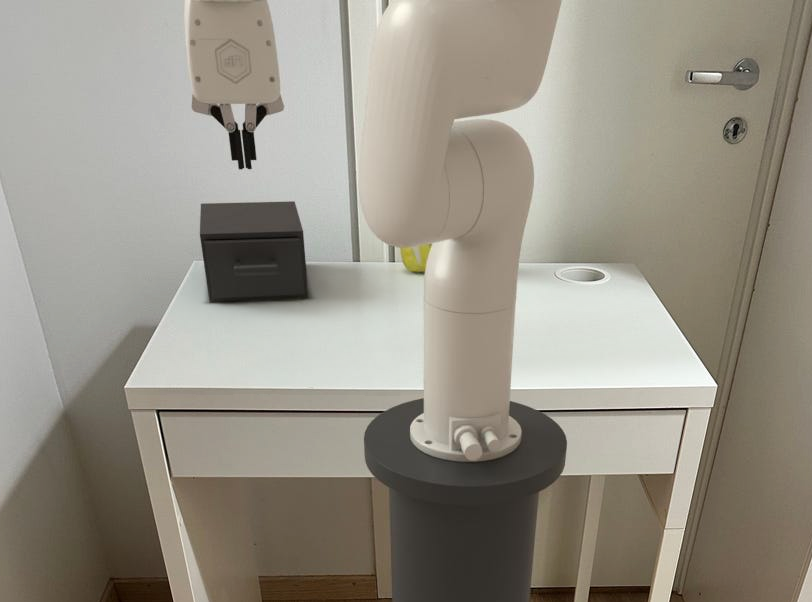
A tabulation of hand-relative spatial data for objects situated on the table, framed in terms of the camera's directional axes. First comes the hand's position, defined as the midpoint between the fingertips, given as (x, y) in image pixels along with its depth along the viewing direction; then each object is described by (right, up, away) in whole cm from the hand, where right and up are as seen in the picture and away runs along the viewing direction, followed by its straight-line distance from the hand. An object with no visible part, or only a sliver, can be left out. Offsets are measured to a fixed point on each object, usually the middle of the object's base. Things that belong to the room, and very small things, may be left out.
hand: (244, 166), depth 112 cm
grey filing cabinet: (-6, -2, +31) cm, 32 cm away
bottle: (+22, +2, +38) cm, 44 cm away
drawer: (-5, -3, +28) cm, 29 cm away
